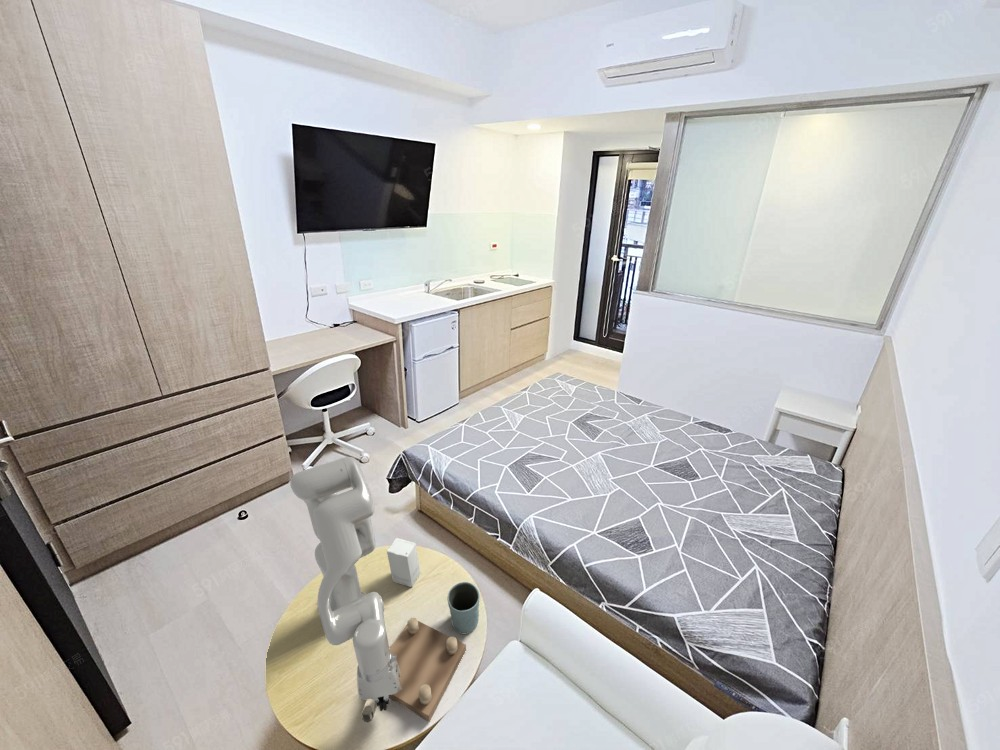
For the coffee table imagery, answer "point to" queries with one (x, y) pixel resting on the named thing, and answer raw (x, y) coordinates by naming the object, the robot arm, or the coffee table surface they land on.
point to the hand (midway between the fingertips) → (383, 704)
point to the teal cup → (464, 607)
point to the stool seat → (425, 666)
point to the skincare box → (403, 562)
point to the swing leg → (369, 710)
